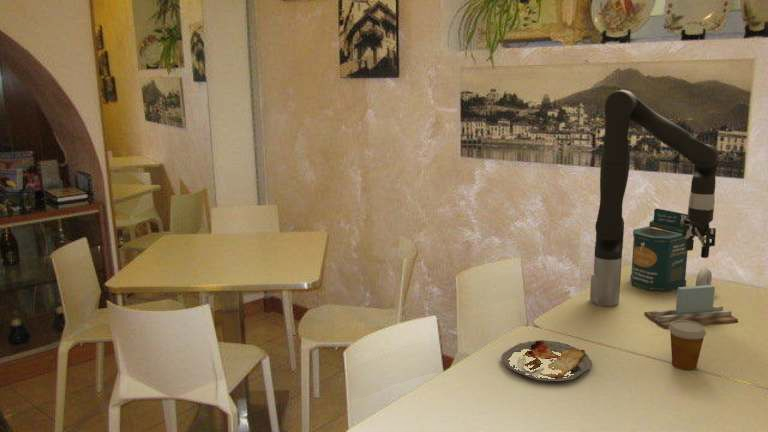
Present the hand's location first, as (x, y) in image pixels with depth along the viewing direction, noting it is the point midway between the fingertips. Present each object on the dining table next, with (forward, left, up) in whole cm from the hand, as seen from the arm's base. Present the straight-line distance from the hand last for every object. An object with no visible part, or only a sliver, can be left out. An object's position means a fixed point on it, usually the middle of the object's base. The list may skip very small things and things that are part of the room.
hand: (696, 253), depth 212 cm
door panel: (-1, -3, -21) cm, 21 cm away
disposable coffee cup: (-24, -34, -22) cm, 47 cm away
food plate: (-62, -26, -22) cm, 71 cm away
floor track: (-2, -3, -22) cm, 22 cm away
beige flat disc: (+16, +17, -22) cm, 32 cm away
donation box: (+5, +31, -22) cm, 39 cm away
